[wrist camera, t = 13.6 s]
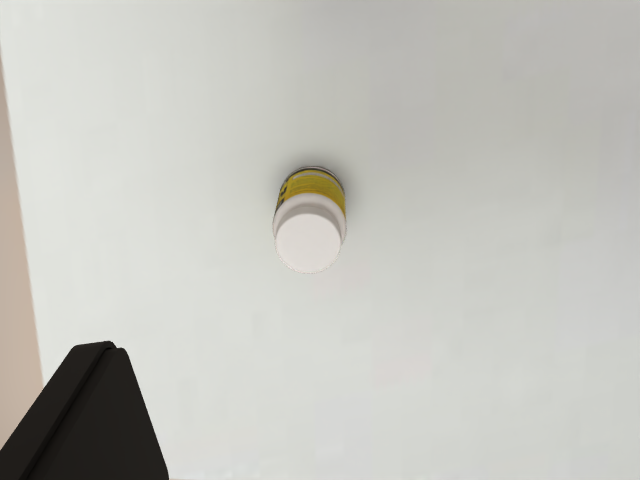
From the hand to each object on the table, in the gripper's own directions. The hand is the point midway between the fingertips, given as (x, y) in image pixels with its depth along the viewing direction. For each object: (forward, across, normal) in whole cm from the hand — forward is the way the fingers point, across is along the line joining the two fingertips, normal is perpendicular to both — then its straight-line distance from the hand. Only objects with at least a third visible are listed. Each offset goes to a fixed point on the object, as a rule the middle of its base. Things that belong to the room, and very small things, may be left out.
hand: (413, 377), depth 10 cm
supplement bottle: (+34, +4, +8) cm, 35 cm away
